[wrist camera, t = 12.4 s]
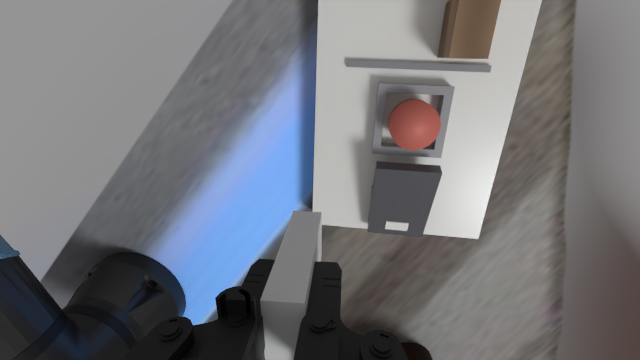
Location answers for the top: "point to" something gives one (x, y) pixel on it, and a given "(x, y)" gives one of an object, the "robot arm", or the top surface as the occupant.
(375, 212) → the tall dark grey panel
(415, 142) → the red button
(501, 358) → the top surface
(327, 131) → the panel
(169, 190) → the top surface
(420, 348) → the coffee mug
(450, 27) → the slider knob
